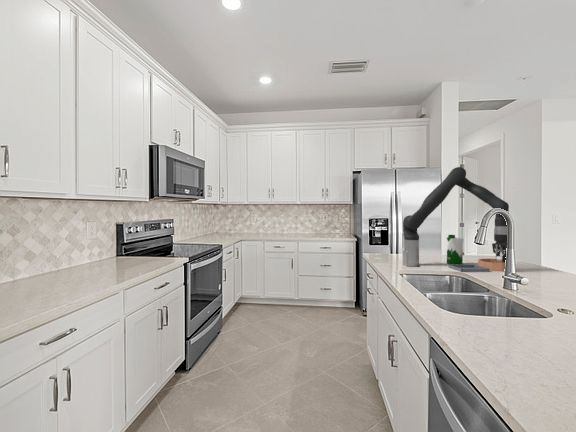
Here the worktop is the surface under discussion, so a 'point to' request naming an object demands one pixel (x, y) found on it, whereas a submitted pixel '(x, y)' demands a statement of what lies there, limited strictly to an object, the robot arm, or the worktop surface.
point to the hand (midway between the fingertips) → (501, 261)
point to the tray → (469, 268)
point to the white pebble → (499, 258)
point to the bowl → (492, 264)
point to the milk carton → (454, 250)
